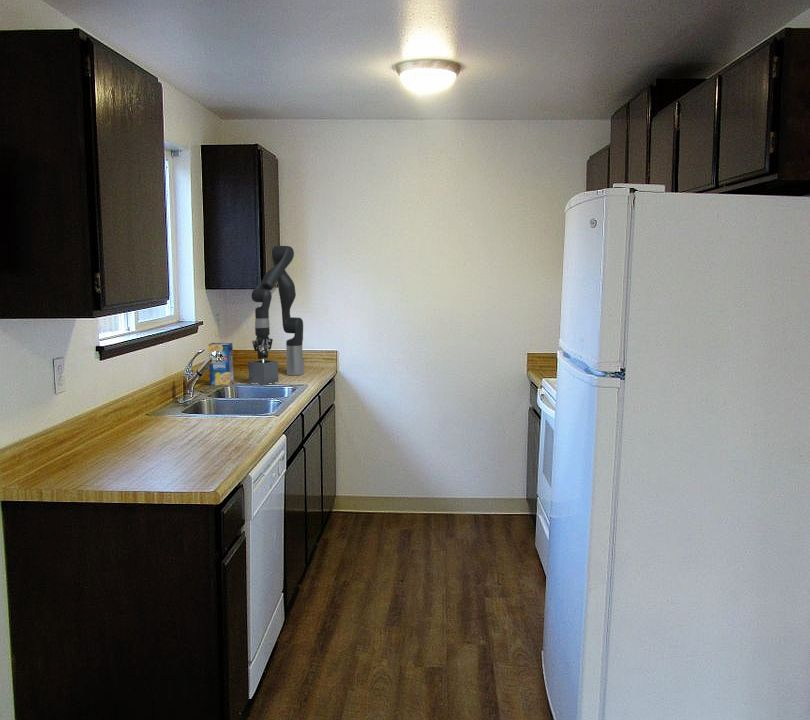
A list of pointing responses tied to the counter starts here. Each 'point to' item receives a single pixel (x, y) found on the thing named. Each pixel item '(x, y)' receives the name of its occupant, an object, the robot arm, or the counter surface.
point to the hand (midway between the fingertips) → (263, 358)
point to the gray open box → (263, 371)
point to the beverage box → (221, 364)
